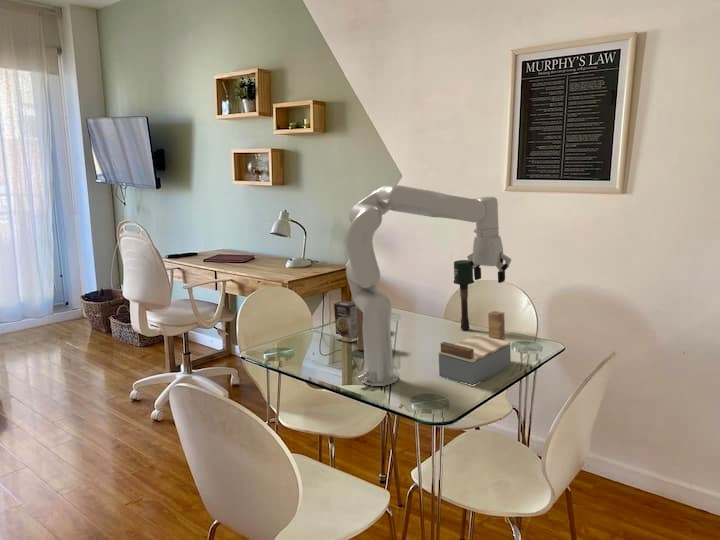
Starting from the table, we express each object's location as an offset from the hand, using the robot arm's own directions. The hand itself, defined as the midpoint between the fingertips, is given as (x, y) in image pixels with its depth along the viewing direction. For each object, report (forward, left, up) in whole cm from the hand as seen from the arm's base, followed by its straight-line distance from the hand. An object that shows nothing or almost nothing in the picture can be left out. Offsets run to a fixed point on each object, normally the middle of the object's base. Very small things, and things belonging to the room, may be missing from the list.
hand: (489, 280), depth 191 cm
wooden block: (-18, +44, -30) cm, 56 cm away
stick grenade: (+24, +29, -30) cm, 48 cm away
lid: (-12, -2, -21) cm, 25 cm away
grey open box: (-12, -2, -30) cm, 32 cm away
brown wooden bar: (+1, -2, -30) cm, 30 cm away
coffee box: (-16, +61, -30) cm, 70 cm away
